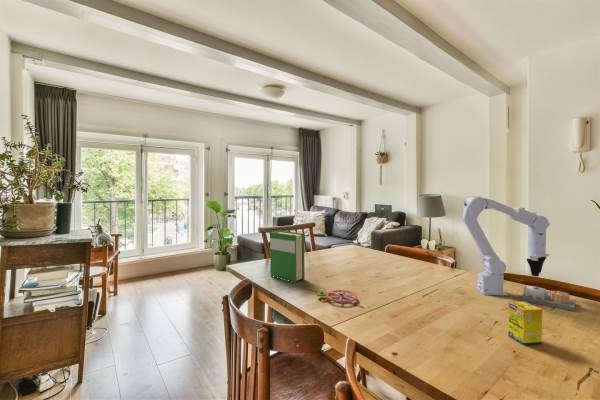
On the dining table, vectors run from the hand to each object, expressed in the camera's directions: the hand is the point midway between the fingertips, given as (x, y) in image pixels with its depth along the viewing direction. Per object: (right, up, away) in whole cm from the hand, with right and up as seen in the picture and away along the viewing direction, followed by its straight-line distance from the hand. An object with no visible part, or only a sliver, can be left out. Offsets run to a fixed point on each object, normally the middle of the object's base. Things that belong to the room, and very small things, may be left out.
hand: (536, 274), depth 126 cm
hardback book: (-109, -9, +28) cm, 113 cm away
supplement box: (-33, -11, -36) cm, 50 cm away
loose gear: (+2, -8, -9) cm, 12 cm away
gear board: (-1, -10, -7) cm, 12 cm away
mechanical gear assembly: (-88, -11, 0) cm, 88 cm away
